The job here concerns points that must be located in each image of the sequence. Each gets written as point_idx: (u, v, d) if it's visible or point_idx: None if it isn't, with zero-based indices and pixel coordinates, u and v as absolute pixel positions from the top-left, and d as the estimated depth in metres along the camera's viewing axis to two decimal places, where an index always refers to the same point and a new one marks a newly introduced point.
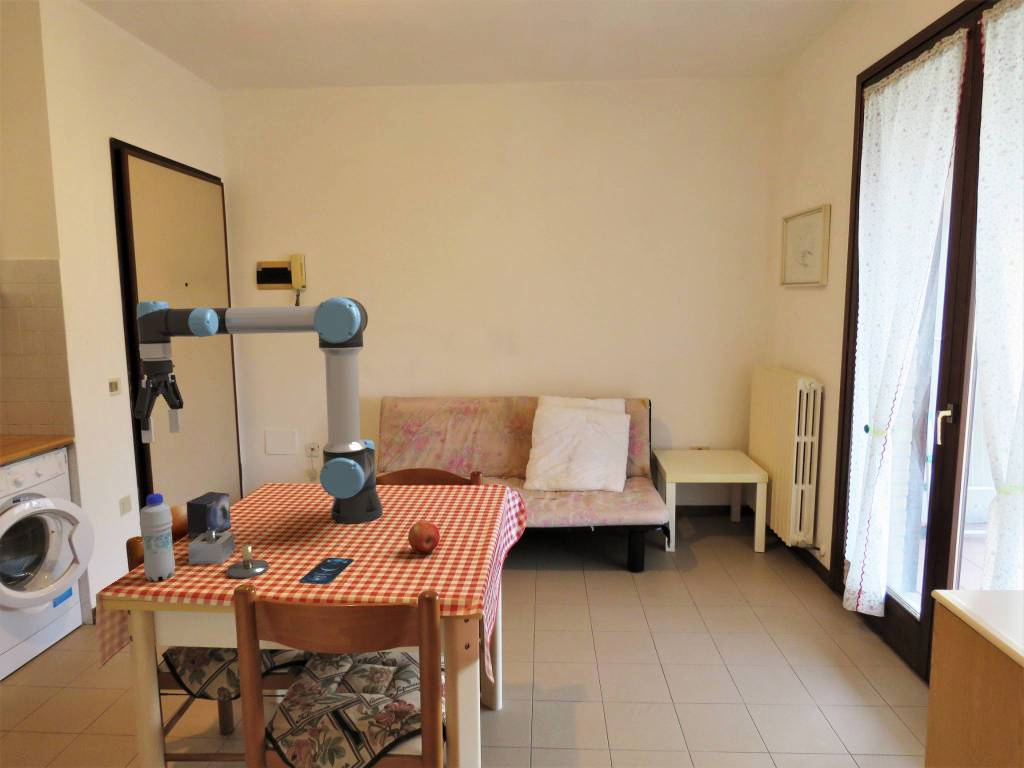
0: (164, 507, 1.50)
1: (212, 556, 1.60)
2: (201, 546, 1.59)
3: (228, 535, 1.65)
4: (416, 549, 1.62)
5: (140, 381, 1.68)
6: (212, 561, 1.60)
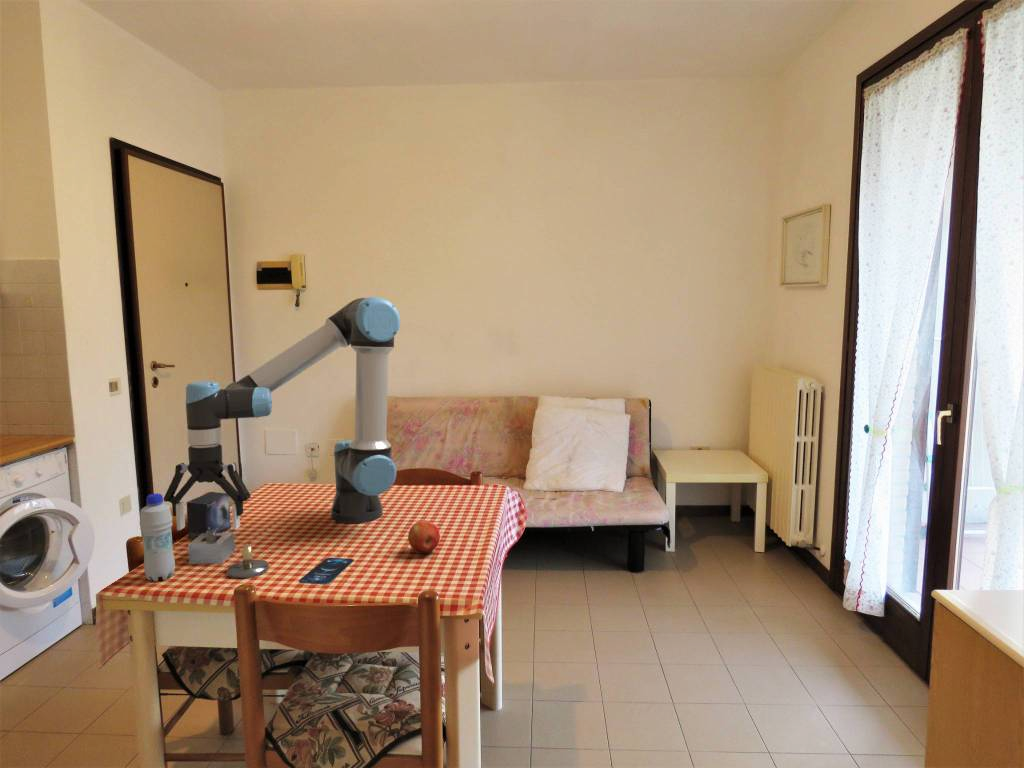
0: (164, 507, 1.50)
1: (212, 556, 1.60)
2: (201, 546, 1.59)
3: (228, 535, 1.65)
4: (416, 549, 1.62)
5: None
6: (212, 561, 1.60)
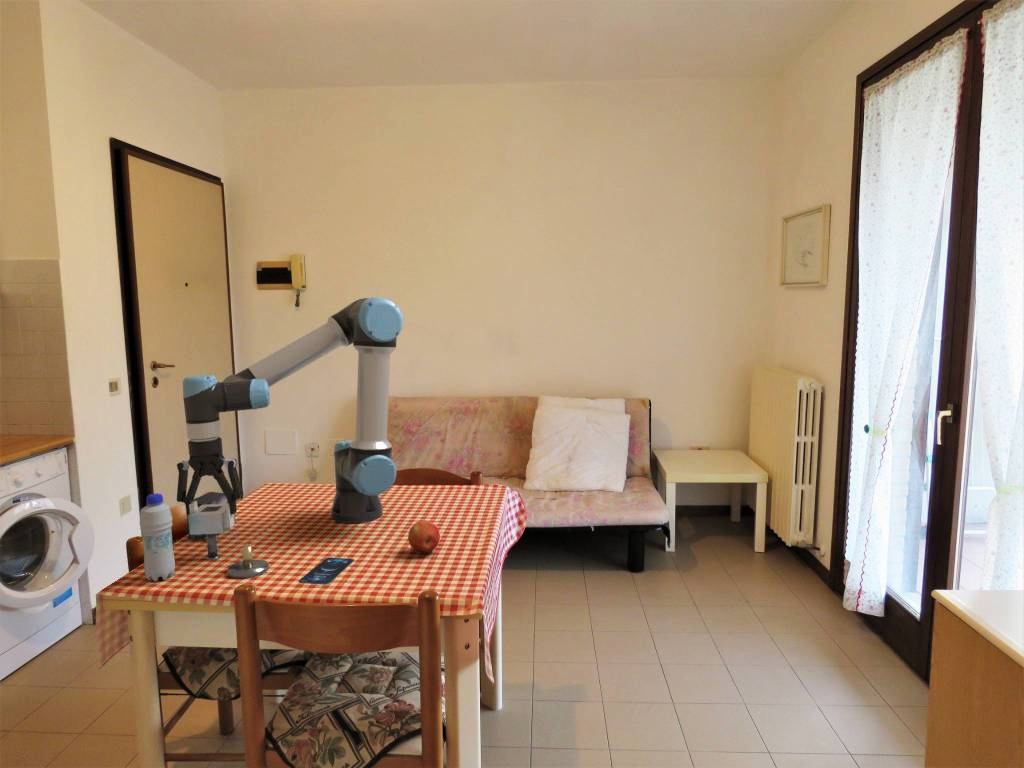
0: (164, 507, 1.50)
1: (212, 526, 1.59)
2: (201, 516, 1.59)
3: None
4: (416, 549, 1.62)
5: None
6: (212, 531, 1.59)
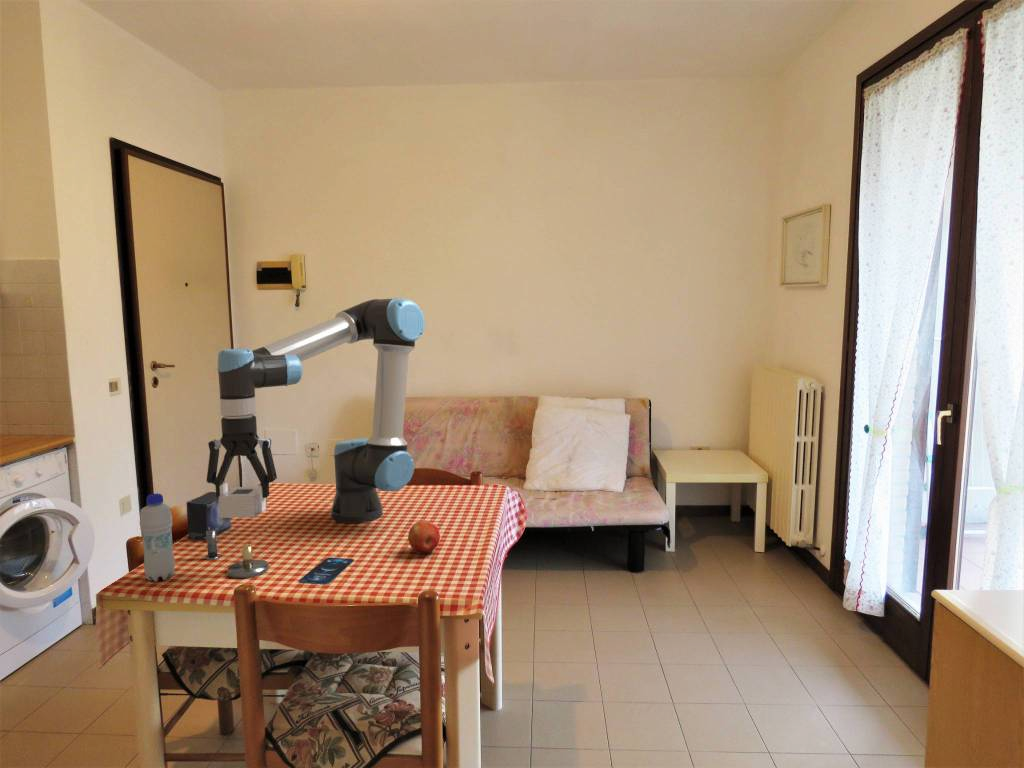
0: (164, 507, 1.50)
1: (244, 509, 1.49)
2: (232, 498, 1.49)
3: None
4: (416, 549, 1.62)
5: None
6: (243, 515, 1.50)
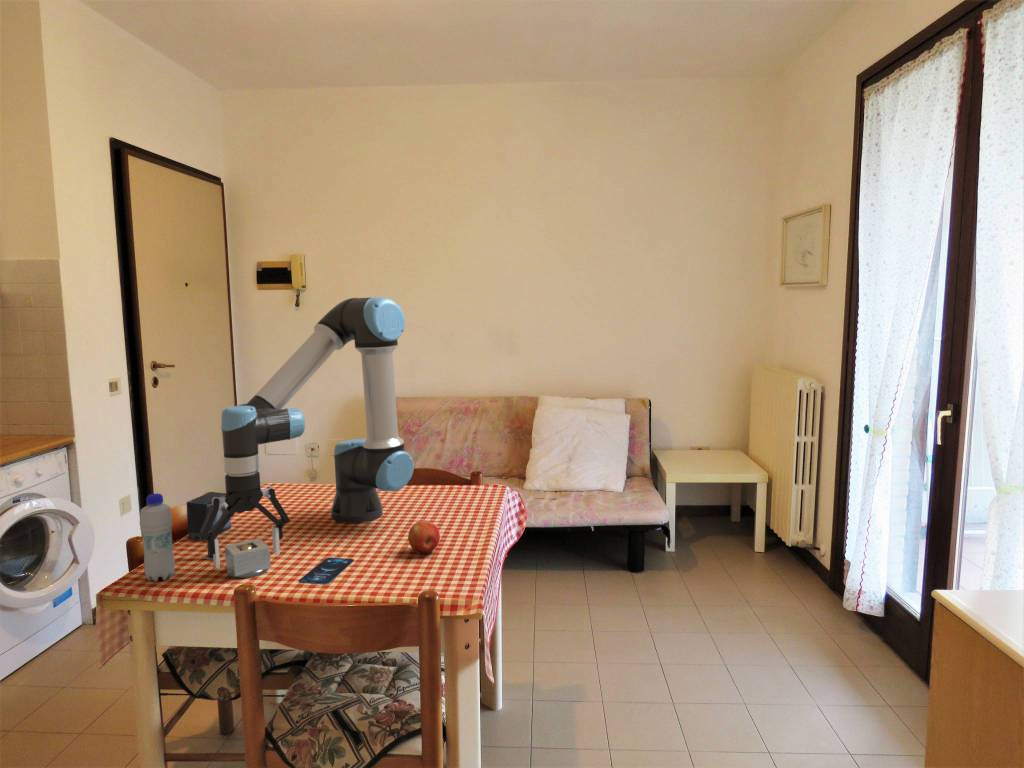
0: (164, 507, 1.50)
1: (259, 562, 1.53)
2: (248, 554, 1.51)
3: (259, 541, 1.58)
4: (415, 549, 1.62)
5: (212, 498, 1.50)
6: (259, 568, 1.53)
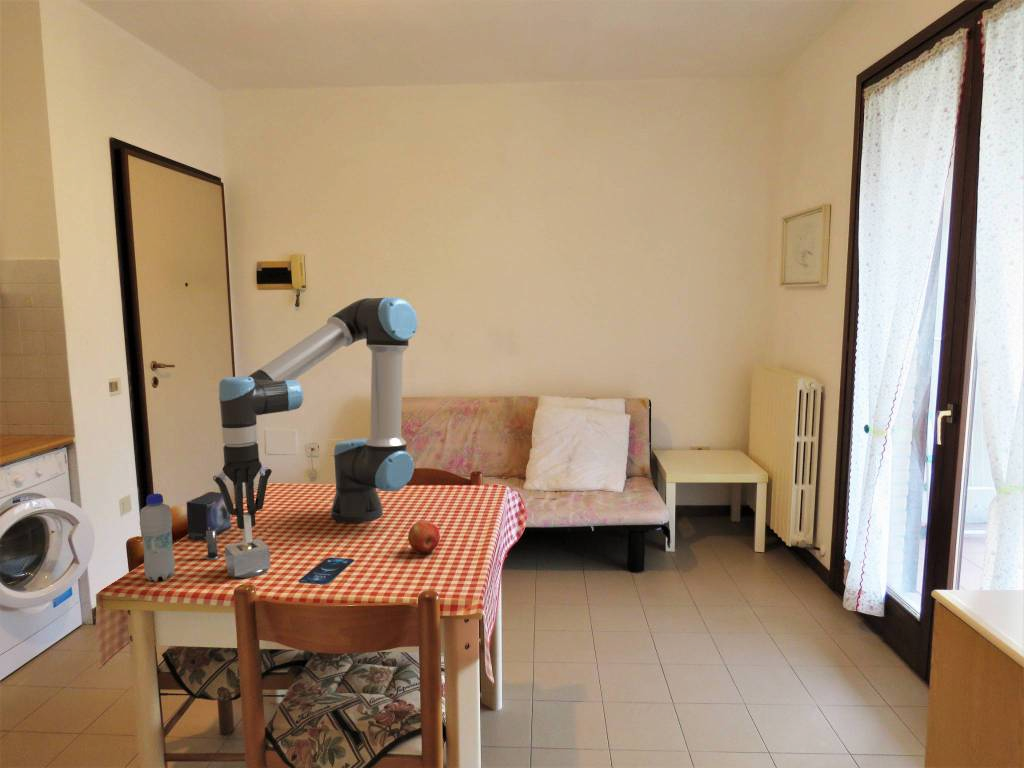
0: (164, 507, 1.50)
1: (259, 562, 1.53)
2: (248, 554, 1.51)
3: (259, 541, 1.58)
4: (415, 549, 1.62)
5: (213, 479, 1.50)
6: (259, 568, 1.53)
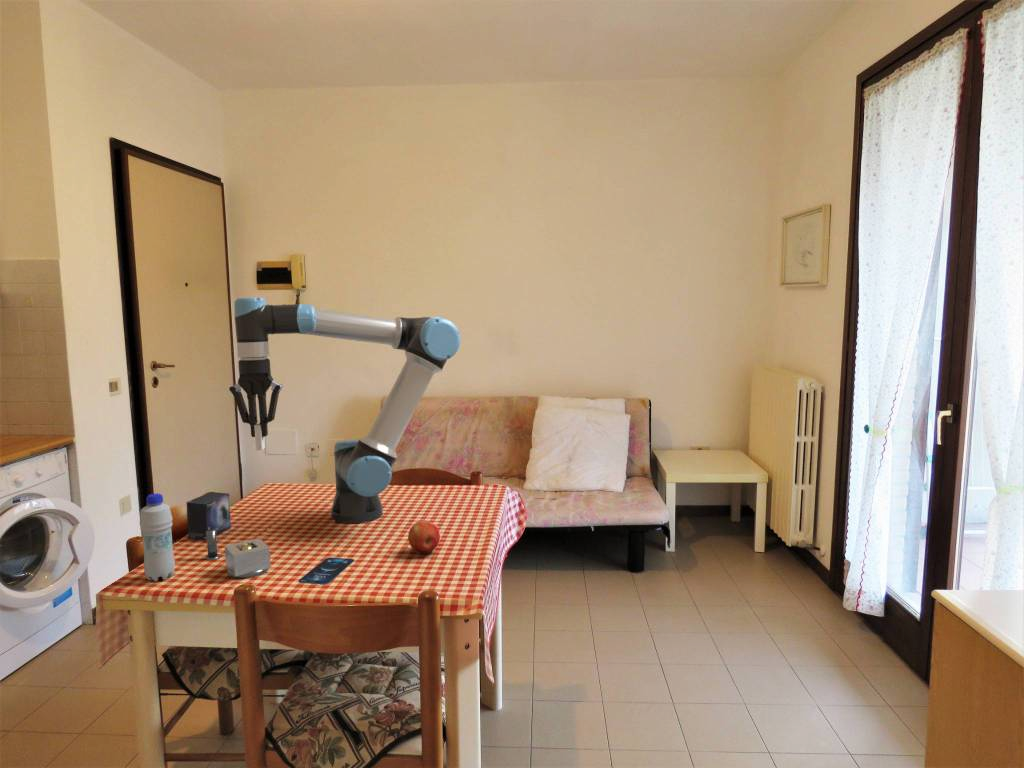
0: (164, 507, 1.50)
1: (259, 562, 1.53)
2: (248, 554, 1.51)
3: (259, 541, 1.58)
4: (415, 549, 1.62)
5: None
6: (259, 568, 1.53)
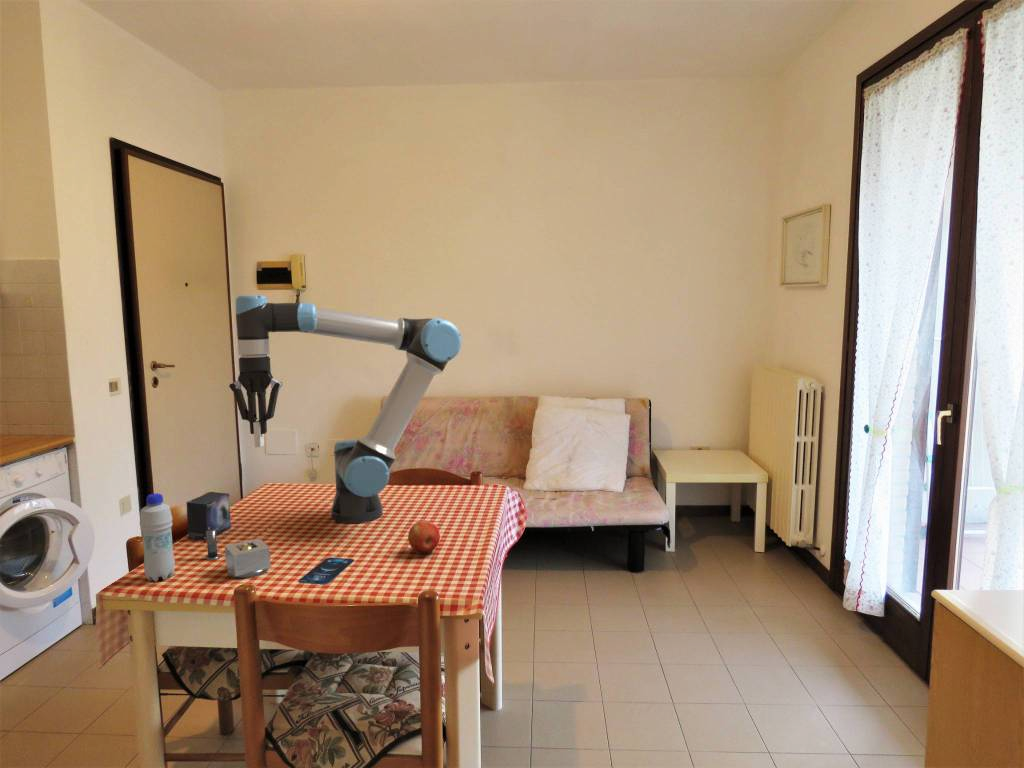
0: (164, 507, 1.50)
1: (259, 562, 1.53)
2: (248, 554, 1.51)
3: (259, 541, 1.58)
4: (415, 549, 1.62)
5: None
6: (259, 568, 1.53)
